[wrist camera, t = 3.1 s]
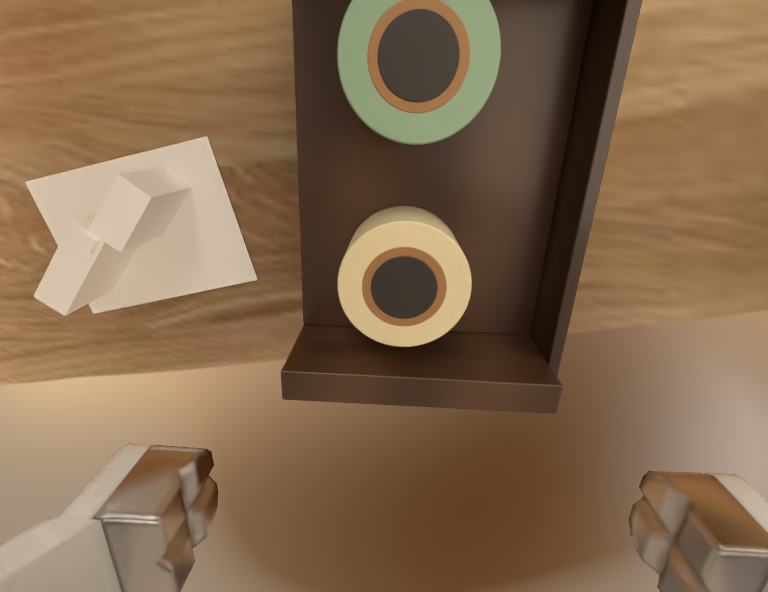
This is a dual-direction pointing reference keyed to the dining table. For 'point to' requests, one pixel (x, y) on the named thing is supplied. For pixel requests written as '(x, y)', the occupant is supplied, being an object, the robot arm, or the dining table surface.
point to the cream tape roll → (404, 277)
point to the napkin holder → (140, 230)
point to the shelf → (462, 208)
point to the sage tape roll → (418, 65)
